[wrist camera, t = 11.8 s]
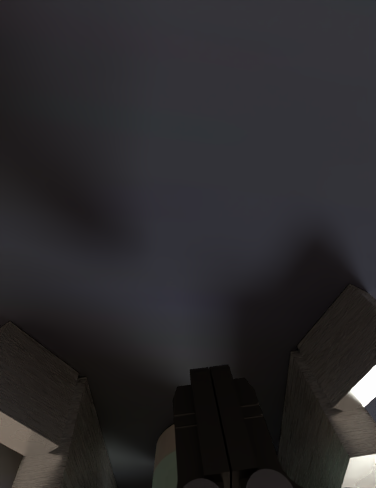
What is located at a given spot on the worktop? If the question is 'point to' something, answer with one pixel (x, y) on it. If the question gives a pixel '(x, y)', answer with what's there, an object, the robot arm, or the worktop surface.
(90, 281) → the worktop surface
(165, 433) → the coffee cup
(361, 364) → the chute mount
